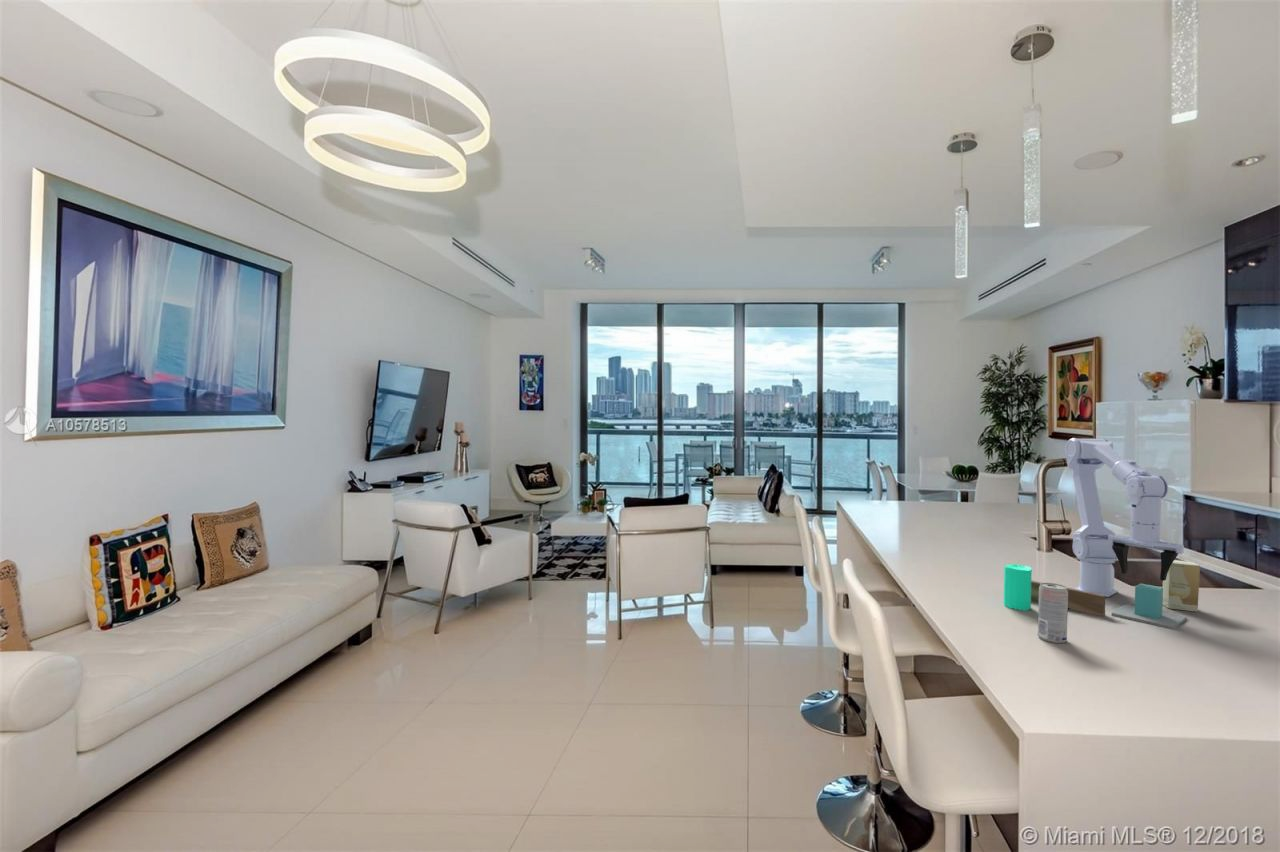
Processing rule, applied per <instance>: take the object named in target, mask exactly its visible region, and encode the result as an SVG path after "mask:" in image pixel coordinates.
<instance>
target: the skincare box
mask: <svg viewBox="0 0 1280 852" xmlns="http://www.w3.org/2000/svg"><path fill="white" fill-rule="evenodd" d="M1200 572H1201V566H1200V565H1199V564H1197V563H1195V562H1193V561H1185V560H1176V559H1175V560H1174V561H1173V563H1172V564H1171V566H1170V568H1169V571H1168V573H1167V577H1166V580H1165V581H1162V586H1161V587H1163V606H1164V607H1166V608H1168V609H1169V610H1171V609H1172V610H1179V611H1189V612H1194V611H1195V612H1196V613H1197V612H1198V610H1199V607H1198V606H1199V593H1200V590H1199V589H1200V574H1201V573H1200Z"/></svg>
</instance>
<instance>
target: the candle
mask: <svg viewBox="0 0 1280 852" xmlns="http://www.w3.org/2000/svg"><path fill="white" fill-rule="evenodd" d="M1003 567H1004V570H1003V572H1004V573H1003V574H1004V575H1003V577H1004V578H1003V606H1004V605H1005V606H1004V607H1006V606H1007V607H1006V608H1008V607H1009V608H1008V609H1012V608H1014V609H1013V610H1016V609H1020V610H1019V611H1030V610H1031V609H1032V608H1031V606H1032V600H1031V580H1032V574H1033V573H1032V567H1031V566H1030V565H1029V566H1028V565H1023V564H1019V563H1016V564H1015V563H1011V564H1008V565H1004V566H1003ZM1029 609H1030V610H1029Z"/></svg>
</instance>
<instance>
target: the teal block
mask: <svg viewBox="0 0 1280 852" xmlns="http://www.w3.org/2000/svg"><path fill="white" fill-rule="evenodd" d="M1134 606H1135V614H1136V615H1141V616H1145V617H1150V618H1155V619H1159V618H1160V617H1161V616H1162V612H1163V606H1164V605H1163V587H1162V586H1156V585H1151V584H1146V583H1139V584H1137V585H1135V586H1134Z"/></svg>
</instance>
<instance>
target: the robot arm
mask: <svg viewBox="0 0 1280 852" xmlns="http://www.w3.org/2000/svg"><path fill="white" fill-rule="evenodd" d="M1064 454H1065V459H1066V465H1067V468H1069V469H1070V470H1071V475H1072V479H1073V481H1072V482H1073V485H1074V491H1075V496H1076V502H1077V508H1078V512H1079V518H1080V523H1081V526H1080V527H1079V528H1078V529H1077V530H1075V531H1074V533H1072V552H1073V554H1074V555H1075V556H1076V558H1077V559H1078V560H1079V585H1078V586H1076V587H1075V588H1074V589H1076V590H1081V591H1086V592H1091V593H1096V594H1101V595H1106V598H1109V597H1111V596H1113V595H1115V594H1116V593H1118V592H1119V590H1118V589H1115V568H1114V566H1113V564H1115V563H1116V560H1117V561H1118V563H1119V566H1120V567H1119V568H1120V572H1121V574H1124V575H1125V574H1127V573H1128V570H1129V569H1128V567H1129V566H1128V556H1129V555H1128V554H1129V548H1130V547H1135V548H1136V547H1137V548H1142V549H1144V548H1145V549H1147V550H1148V549H1151V550H1156V551H1162V552H1160V568H1161V569H1160V573H1159V574H1160V578H1159V579H1160V581H1162V582H1163V581H1165V580H1166V577H1167V573H1168V571H1169V568H1170V566H1171V564H1172V563H1173V561H1174V560H1176V558H1177V556H1178V555H1179V554H1180V555H1182V554H1184V549H1185V546H1184V545H1185V544H1179V543H1172V542H1167V541H1161V537H1160V536H1161V514H1162V513H1161V510H1162V499H1164V498H1165V497H1166V496H1167V495H1168V491H1169V486H1168V483H1167V480H1166V479H1165V478H1164V477H1163V476H1162V475H1159V474H1158V475H1157V474H1155V475H1154V474H1150V472H1148V471H1147V470H1146V469H1144V468H1143V467H1141V466H1140V465H1139V464H1138V463H1137V461H1136V460H1134V459H1124V458H1122V456H1121V455H1120V454H1119V453H1118V452H1117V451H1116V450H1115V449H1114V443H1113V442H1112V441H1110V439H1108V438H1076V437H1072V438H1069V440H1067V443H1066V445H1065V446H1064ZM1104 465H1106V466H1107V467H1108V468H1110V469H1111V473H1112V475H1113V476H1114V477H1115V478H1116V479H1117V480H1118V481H1119V482H1121V483H1122V484H1123V485H1124V486H1125V490H1126V494H1127V497H1128V504H1130V524H1129V525H1130V527H1129V528H1130V529H1129V530H1130V531H1129V536H1122V535H1116V533H1115V532H1114V531H1113V530H1111V529H1109V527H1107V526H1105V523H1104V518H1103V513H1102V507H1101V503H1100V497H1099V492H1098V488H1097V481H1096V478H1095V472H1096V470H1099V469H1101V468H1102V467H1103V466H1104Z"/></svg>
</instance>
